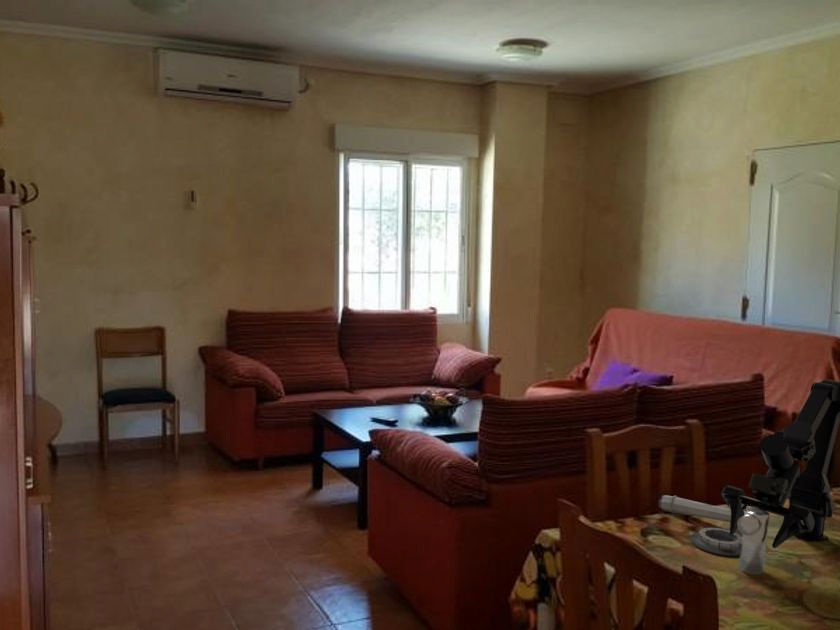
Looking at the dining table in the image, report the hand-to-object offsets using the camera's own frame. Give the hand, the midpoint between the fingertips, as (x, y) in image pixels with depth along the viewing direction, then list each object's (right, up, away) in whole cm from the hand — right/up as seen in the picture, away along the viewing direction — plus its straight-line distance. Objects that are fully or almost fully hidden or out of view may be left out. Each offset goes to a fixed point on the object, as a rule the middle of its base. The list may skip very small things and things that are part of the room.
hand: (751, 540), depth 169 cm
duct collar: (-1, -5, +15) cm, 16 cm away
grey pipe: (+1, -4, +29) cm, 29 cm away
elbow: (+1, -7, +1) cm, 7 cm away
